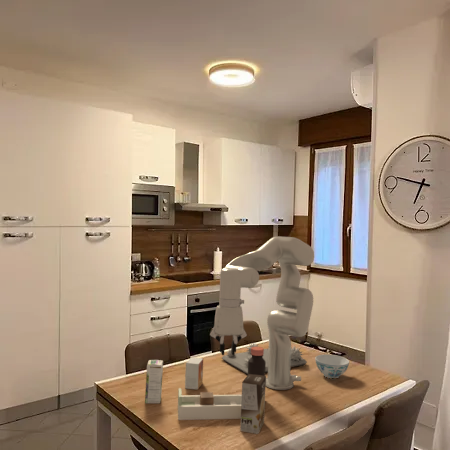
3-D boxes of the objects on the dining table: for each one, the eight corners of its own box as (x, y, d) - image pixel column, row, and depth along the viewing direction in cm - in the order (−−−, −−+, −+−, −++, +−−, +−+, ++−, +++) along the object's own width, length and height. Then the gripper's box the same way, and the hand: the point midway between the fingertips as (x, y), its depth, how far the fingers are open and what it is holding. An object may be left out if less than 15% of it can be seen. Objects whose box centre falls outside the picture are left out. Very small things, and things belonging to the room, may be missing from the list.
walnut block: (212, 403, 154) (212, 392, 154) (213, 408, 149) (213, 397, 149) (199, 403, 153) (200, 392, 153) (200, 409, 149) (200, 397, 149)
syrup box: (146, 397, 163) (147, 359, 163) (161, 397, 163) (163, 359, 163) (144, 403, 157) (146, 364, 157) (160, 403, 158) (162, 364, 157)
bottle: (259, 405, 159) (261, 352, 159) (243, 400, 163) (245, 348, 163) (267, 399, 165) (269, 347, 165) (251, 394, 169) (253, 344, 169)
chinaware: (311, 379, 189) (312, 361, 189) (317, 368, 203) (318, 352, 203) (346, 385, 183) (347, 367, 183) (350, 374, 197) (350, 357, 197)
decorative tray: (276, 352, 228) (277, 333, 228) (309, 366, 206) (310, 346, 206) (220, 361, 210) (221, 340, 210) (249, 378, 188) (250, 355, 188)
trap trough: (253, 406, 158) (253, 386, 158) (258, 418, 149) (259, 396, 149) (177, 407, 155) (178, 387, 155) (178, 419, 145) (178, 398, 145)
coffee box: (258, 434, 137) (260, 385, 137) (239, 431, 139) (241, 382, 139) (264, 422, 146) (266, 375, 146) (246, 419, 148) (248, 373, 148)
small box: (197, 390, 172) (198, 364, 172) (184, 388, 173) (185, 362, 173) (202, 383, 179) (203, 358, 179) (190, 381, 181) (191, 356, 180)
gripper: (250, 301, 157) (248, 351, 157) (206, 300, 155) (204, 351, 155) (254, 305, 149) (252, 357, 149) (207, 304, 147) (205, 357, 147)
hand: (227, 353), depth 152 cm, fingers open, 3 cm apart
